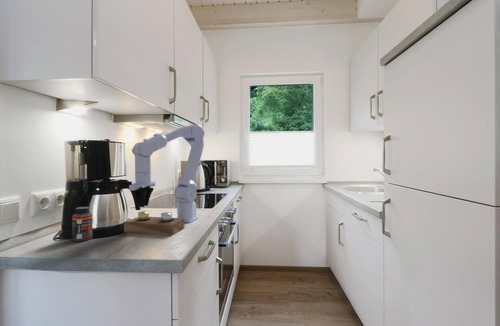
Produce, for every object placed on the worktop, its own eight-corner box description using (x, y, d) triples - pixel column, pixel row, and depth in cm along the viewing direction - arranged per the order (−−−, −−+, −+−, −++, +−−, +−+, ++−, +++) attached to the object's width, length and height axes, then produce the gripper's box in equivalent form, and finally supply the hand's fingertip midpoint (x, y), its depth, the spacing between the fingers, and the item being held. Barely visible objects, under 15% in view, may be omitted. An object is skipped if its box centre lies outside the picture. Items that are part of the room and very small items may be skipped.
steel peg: (164, 220, 104) (164, 212, 104) (173, 221, 103) (173, 212, 103) (159, 223, 100) (159, 214, 100) (168, 223, 99) (168, 214, 99)
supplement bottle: (82, 242, 88) (82, 209, 88) (68, 241, 89) (67, 208, 89) (96, 237, 94) (96, 206, 94) (82, 236, 95) (82, 205, 95)
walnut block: (140, 225, 110) (139, 216, 109) (184, 228, 106) (183, 218, 106) (124, 232, 100) (124, 222, 100) (172, 235, 96) (172, 224, 96)
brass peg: (142, 219, 106) (141, 211, 106) (150, 219, 105) (150, 211, 105) (135, 221, 102) (135, 213, 102) (145, 222, 101) (145, 213, 101)
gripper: (144, 171, 111) (145, 202, 111) (121, 173, 97) (122, 209, 97) (159, 171, 110) (160, 203, 110) (138, 173, 95) (139, 210, 96)
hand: (143, 206), depth 103 cm, fingers closed
